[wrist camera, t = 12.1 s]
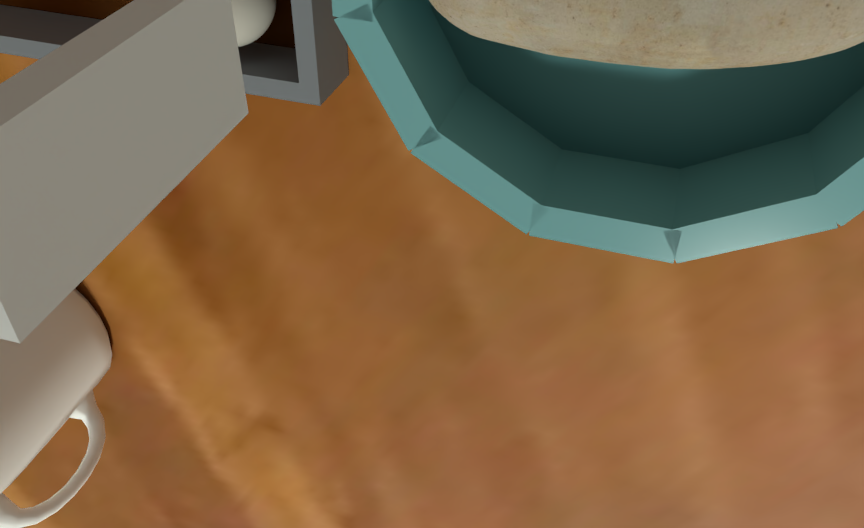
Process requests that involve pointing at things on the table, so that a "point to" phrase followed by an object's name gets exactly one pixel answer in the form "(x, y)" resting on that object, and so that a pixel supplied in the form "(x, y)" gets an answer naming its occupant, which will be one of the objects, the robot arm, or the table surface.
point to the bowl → (620, 136)
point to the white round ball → (252, 19)
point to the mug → (50, 398)
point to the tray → (261, 63)
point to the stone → (666, 29)
